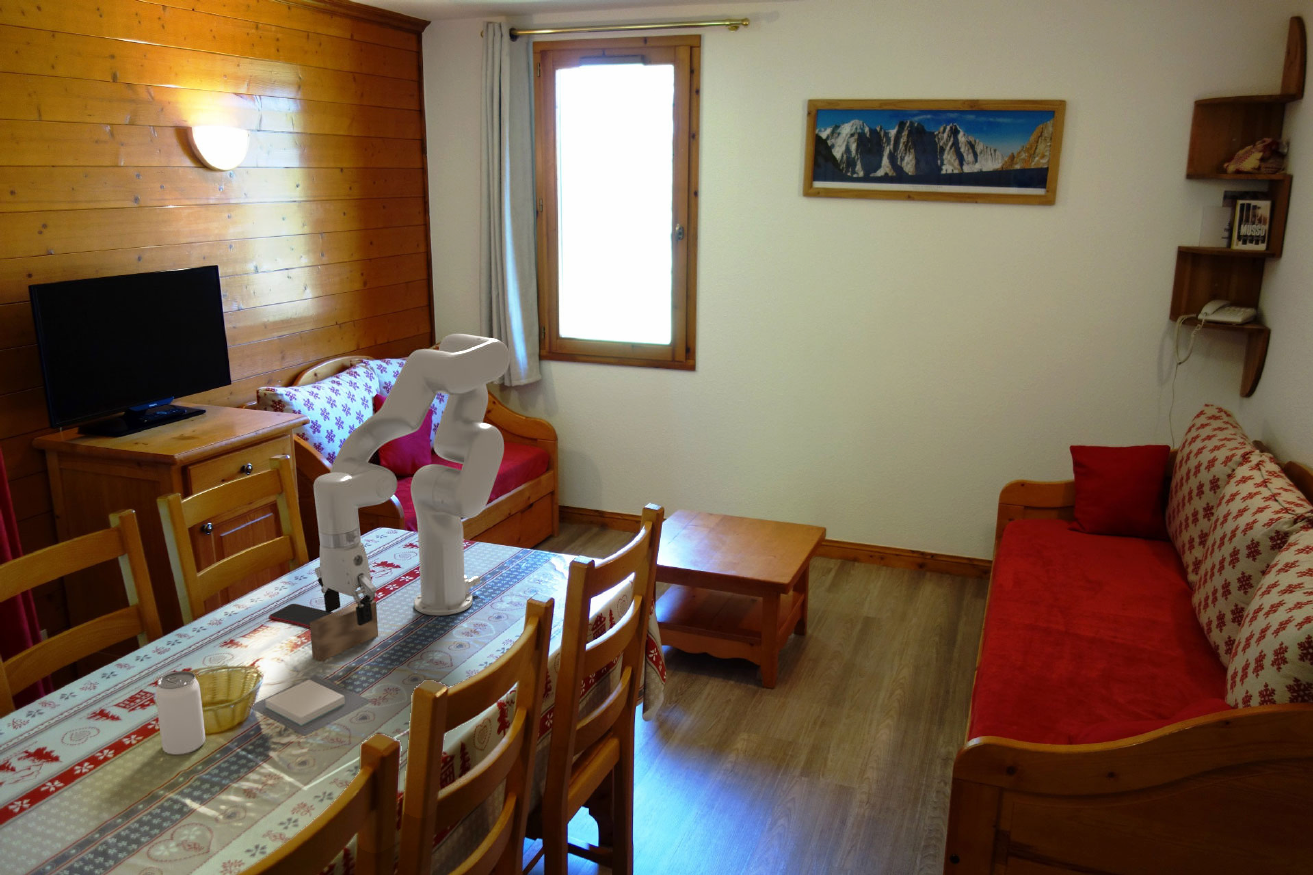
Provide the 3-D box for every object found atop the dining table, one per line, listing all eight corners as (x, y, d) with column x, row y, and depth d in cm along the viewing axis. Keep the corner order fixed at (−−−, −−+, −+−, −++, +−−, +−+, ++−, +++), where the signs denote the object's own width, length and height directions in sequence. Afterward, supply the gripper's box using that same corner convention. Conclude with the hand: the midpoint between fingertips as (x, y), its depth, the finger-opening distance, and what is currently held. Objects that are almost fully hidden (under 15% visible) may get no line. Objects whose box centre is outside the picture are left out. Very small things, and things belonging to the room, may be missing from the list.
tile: (309, 679, 180) (265, 699, 173) (344, 695, 175) (300, 717, 168) (309, 687, 181) (266, 707, 174) (345, 704, 175) (301, 726, 168)
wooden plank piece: (370, 634, 203) (367, 598, 201) (378, 637, 202) (376, 601, 200) (312, 660, 192) (309, 622, 190) (321, 663, 191) (317, 625, 188)
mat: (315, 676, 185) (315, 675, 185) (371, 703, 176) (371, 701, 176) (248, 708, 174) (248, 706, 174) (304, 737, 165) (304, 735, 165)
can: (177, 760, 158) (169, 693, 155) (154, 748, 162) (145, 682, 159) (214, 742, 164) (206, 676, 161) (190, 730, 167) (182, 666, 164)
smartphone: (292, 602, 216) (346, 615, 210) (293, 606, 216) (347, 619, 210) (267, 615, 209) (322, 628, 204) (267, 619, 210) (322, 633, 204)
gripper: (385, 539, 189) (393, 620, 194) (327, 521, 199) (336, 598, 204) (353, 552, 183) (362, 635, 188) (295, 533, 193) (305, 612, 198)
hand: (349, 616), depth 196 cm, fingers open, 9 cm apart
